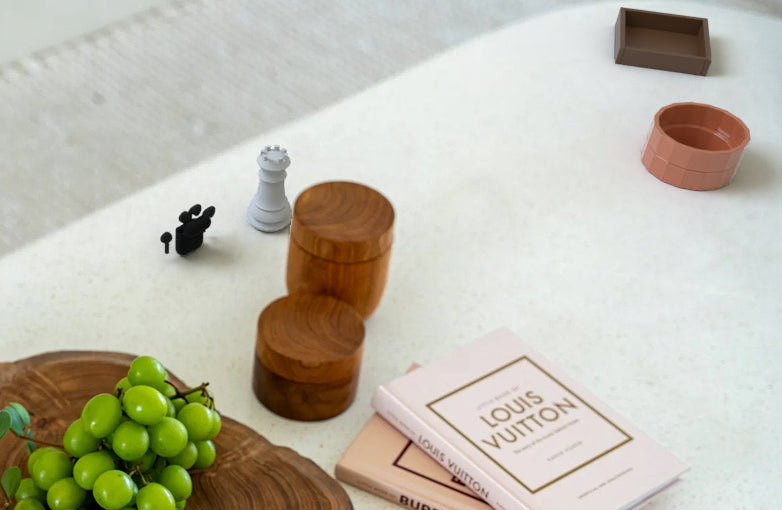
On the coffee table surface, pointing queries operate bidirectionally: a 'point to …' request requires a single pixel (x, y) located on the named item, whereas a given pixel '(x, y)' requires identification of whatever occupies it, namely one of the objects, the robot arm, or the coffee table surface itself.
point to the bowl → (695, 146)
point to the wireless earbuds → (189, 230)
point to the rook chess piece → (270, 192)
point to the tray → (662, 41)
